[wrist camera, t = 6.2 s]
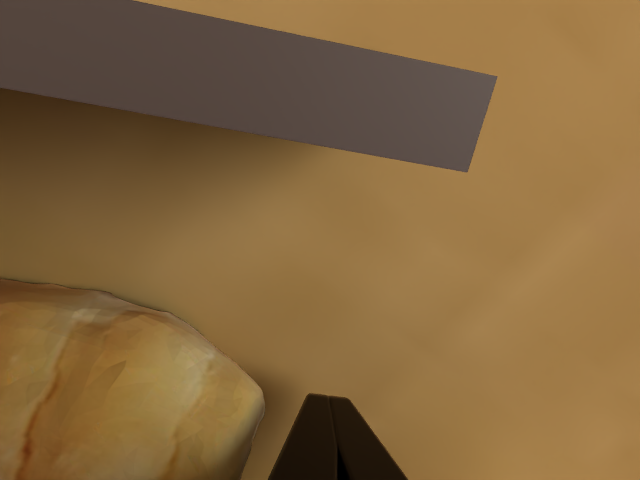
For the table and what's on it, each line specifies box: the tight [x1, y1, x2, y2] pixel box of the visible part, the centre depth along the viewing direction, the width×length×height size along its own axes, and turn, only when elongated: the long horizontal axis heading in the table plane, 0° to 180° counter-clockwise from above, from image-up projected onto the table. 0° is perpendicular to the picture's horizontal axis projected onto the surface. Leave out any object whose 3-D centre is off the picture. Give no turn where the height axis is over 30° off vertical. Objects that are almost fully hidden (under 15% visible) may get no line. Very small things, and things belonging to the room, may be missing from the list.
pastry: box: [0, 279, 265, 480], centre depth 8 cm, size 9×7×4 cm
